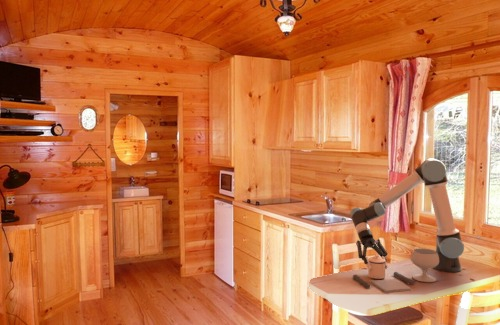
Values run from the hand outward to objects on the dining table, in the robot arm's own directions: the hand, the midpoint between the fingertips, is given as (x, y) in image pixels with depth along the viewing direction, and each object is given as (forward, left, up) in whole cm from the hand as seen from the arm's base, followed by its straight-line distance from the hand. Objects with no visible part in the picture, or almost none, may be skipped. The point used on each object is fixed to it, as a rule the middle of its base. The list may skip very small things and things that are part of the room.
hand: (378, 268), depth 220 cm
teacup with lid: (+3, -2, -5) cm, 6 cm away
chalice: (-20, -15, -6) cm, 25 cm away
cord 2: (-11, -6, -6) cm, 14 cm away
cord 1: (+4, +12, -6) cm, 14 cm away
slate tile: (-9, +8, -6) cm, 13 cm away
